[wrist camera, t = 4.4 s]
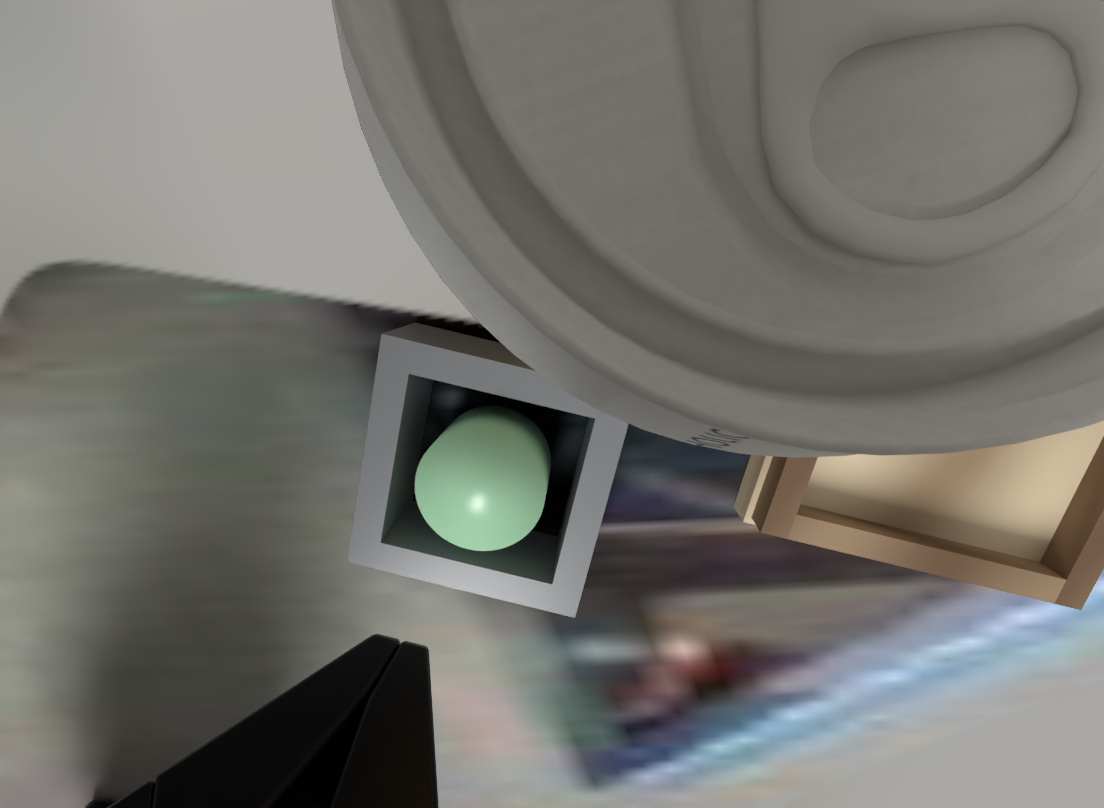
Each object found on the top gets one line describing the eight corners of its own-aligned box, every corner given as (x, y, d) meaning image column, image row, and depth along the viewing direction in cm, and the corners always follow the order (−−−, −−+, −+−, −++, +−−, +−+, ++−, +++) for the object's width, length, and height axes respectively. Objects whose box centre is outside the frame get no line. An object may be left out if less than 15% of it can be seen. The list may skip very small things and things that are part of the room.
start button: (428, 499, 18) (404, 534, 16) (448, 393, 17) (426, 413, 15) (537, 525, 18) (529, 564, 16) (563, 421, 17) (558, 446, 15)
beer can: (740, 75, 16) (2725, -2418, 1) (748, 296, 17) (1659, 479, 3) (525, 107, 16) (-40, -1254, 2) (550, 318, 18) (362, 575, 3)
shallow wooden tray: (733, 505, 19) (752, 537, 17) (839, 194, 16) (877, 183, 14) (1028, 577, 19) (1084, 617, 16) (1180, 275, 16) (1270, 276, 14)
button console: (382, 518, 20) (346, 562, 17) (415, 322, 18) (381, 333, 15) (577, 565, 20) (574, 617, 17) (629, 373, 18) (636, 394, 15)
